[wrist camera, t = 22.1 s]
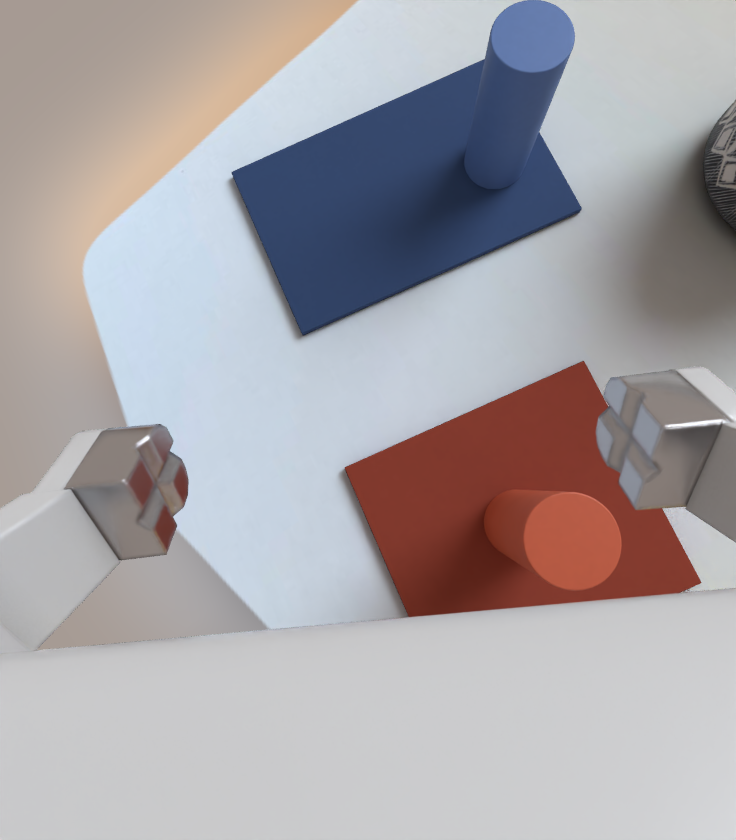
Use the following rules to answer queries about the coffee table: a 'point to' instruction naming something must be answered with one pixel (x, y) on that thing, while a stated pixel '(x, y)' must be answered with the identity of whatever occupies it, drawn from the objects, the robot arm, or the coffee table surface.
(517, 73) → the blue peg
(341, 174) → the blue mat
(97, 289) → the coffee table surface
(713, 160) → the planter
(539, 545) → the red peg
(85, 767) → the robot arm
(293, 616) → the coffee table surface
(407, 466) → the red mat
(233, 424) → the coffee table surface
